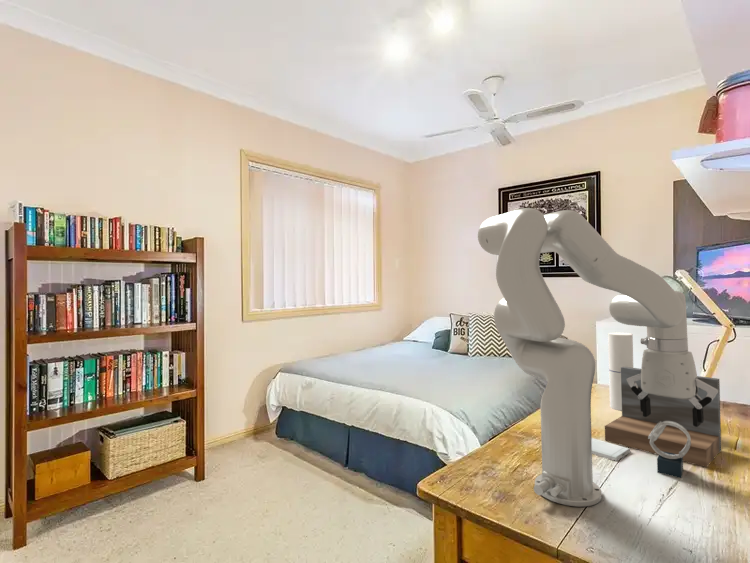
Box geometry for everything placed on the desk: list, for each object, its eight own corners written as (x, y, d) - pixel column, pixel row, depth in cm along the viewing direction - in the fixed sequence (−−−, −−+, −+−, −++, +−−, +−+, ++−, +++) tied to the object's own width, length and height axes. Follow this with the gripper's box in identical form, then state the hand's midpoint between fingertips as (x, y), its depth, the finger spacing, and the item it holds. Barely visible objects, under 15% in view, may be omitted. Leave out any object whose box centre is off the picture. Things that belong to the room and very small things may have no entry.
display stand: (706, 467, 96) (704, 388, 96) (605, 440, 113) (603, 374, 113) (721, 450, 105) (719, 378, 105) (625, 428, 122) (623, 366, 122)
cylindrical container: (605, 405, 144) (603, 332, 144) (624, 404, 145) (622, 332, 145) (619, 411, 137) (617, 335, 137) (639, 410, 138) (637, 334, 138)
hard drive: (565, 442, 110) (616, 456, 100) (581, 434, 115) (630, 447, 105) (566, 448, 110) (616, 463, 100) (581, 440, 115) (630, 454, 105)
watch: (650, 461, 99) (649, 415, 99) (692, 471, 94) (691, 422, 94) (647, 470, 95) (645, 422, 95) (691, 480, 90) (689, 429, 90)
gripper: (619, 344, 99) (623, 416, 99) (710, 351, 86) (715, 434, 86) (631, 339, 104) (634, 408, 104) (719, 346, 90) (723, 424, 91)
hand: (671, 420), depth 95 cm, fingers open, 9 cm apart
